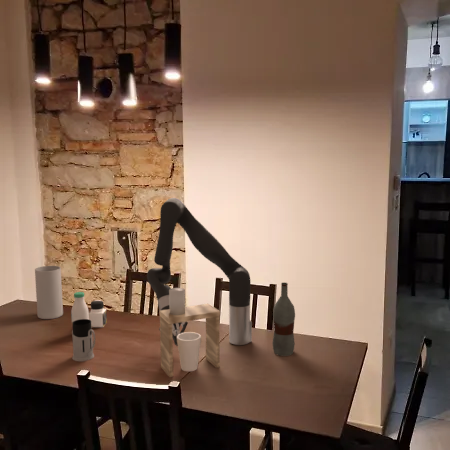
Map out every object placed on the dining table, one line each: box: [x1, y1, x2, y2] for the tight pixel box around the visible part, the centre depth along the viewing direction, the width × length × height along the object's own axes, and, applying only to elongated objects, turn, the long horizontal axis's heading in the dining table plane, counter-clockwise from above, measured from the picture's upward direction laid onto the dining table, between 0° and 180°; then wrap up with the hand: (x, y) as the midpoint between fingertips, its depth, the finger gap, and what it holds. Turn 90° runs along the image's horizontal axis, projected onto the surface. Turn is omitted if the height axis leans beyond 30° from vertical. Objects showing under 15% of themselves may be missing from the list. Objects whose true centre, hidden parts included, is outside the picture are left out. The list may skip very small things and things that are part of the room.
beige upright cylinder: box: [169, 287, 186, 315], centre depth 195 cm, size 6×6×9 cm
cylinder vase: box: [34, 265, 64, 320], centre depth 262 cm, size 12×12×25 cm
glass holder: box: [71, 319, 96, 362], centre depth 208 cm, size 9×14×15 cm, turn 45°
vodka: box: [272, 282, 296, 357], centre depth 213 cm, size 9×9×30 cm
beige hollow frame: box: [158, 303, 221, 378], centre depth 199 cm, size 21×11×23 cm, turn 116°
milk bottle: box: [70, 291, 89, 333], centre depth 235 cm, size 8×8×20 cm
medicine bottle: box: [88, 299, 108, 328], centre depth 249 cm, size 7×7×12 cm
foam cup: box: [177, 331, 202, 372], centre depth 199 cm, size 10×9×13 cm
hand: (179, 345), depth 211 cm, fingers closed
